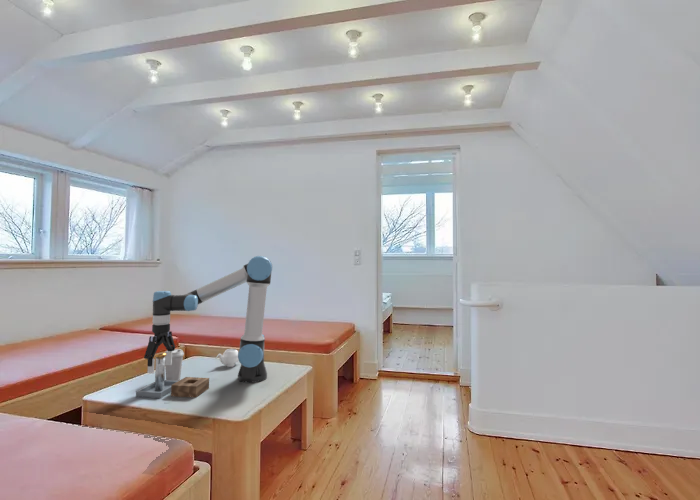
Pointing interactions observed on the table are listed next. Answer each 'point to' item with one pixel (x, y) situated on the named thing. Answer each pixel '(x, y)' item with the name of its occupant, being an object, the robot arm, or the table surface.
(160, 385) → the hitch pin
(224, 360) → the teapot
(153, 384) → the tray
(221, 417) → the table surface
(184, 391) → the socket block
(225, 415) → the table surface
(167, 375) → the coffee cup
